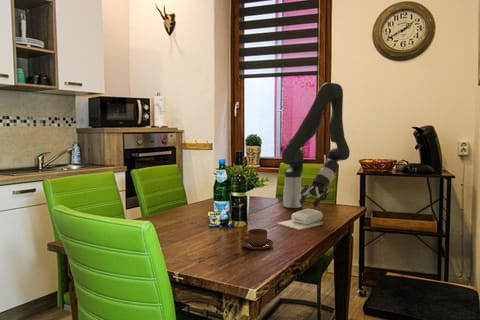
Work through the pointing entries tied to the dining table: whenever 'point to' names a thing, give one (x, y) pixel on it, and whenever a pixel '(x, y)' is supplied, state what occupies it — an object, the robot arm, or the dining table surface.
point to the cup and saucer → (257, 239)
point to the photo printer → (307, 216)
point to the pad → (299, 224)
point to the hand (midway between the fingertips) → (307, 204)
